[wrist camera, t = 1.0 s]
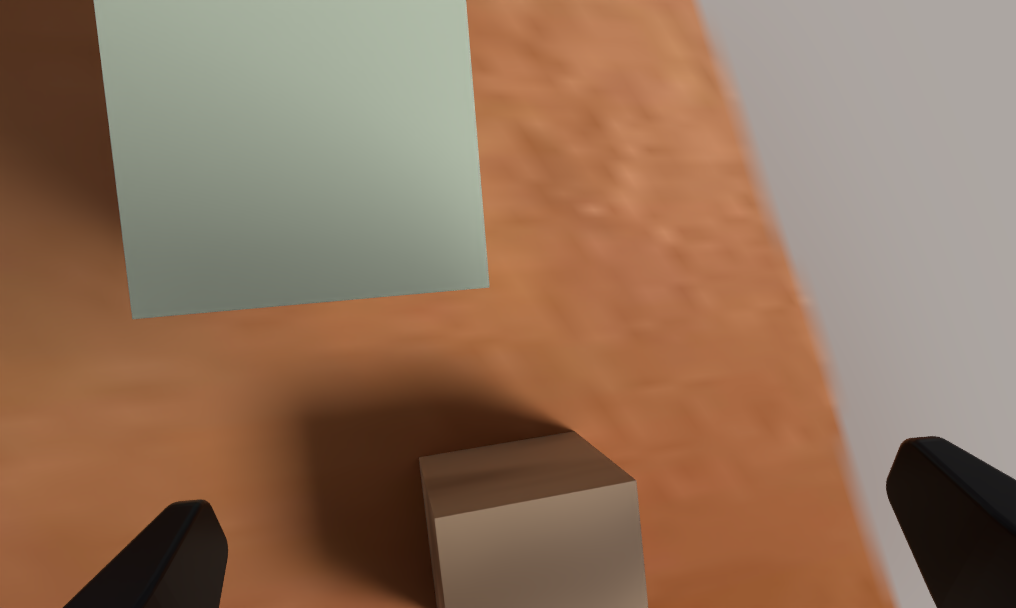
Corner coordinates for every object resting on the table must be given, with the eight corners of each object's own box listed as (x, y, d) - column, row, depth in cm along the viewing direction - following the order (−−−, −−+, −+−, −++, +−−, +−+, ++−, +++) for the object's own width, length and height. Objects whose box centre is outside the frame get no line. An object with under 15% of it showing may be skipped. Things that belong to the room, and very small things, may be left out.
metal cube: (588, 579, 21) (654, 672, 16) (437, 612, 20) (459, 722, 15) (573, 430, 21) (636, 480, 16) (418, 456, 20) (434, 518, 15)
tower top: (459, 282, 16) (489, 287, 12) (196, 305, 14) (132, 319, 11) (438, 31, 15) (461, -51, 11) (165, 33, 14) (86, -58, 10)
